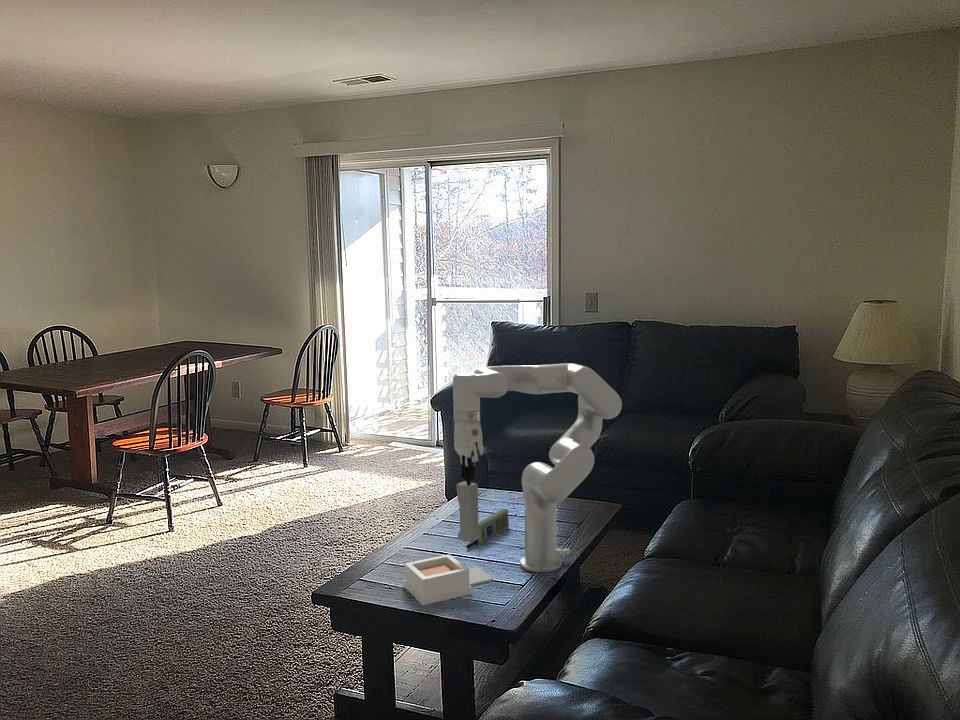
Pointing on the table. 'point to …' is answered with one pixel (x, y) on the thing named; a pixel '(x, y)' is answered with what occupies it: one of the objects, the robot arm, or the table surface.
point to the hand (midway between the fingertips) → (468, 478)
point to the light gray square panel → (478, 576)
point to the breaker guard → (437, 580)
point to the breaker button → (435, 570)
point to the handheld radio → (491, 526)
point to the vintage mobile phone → (468, 511)
